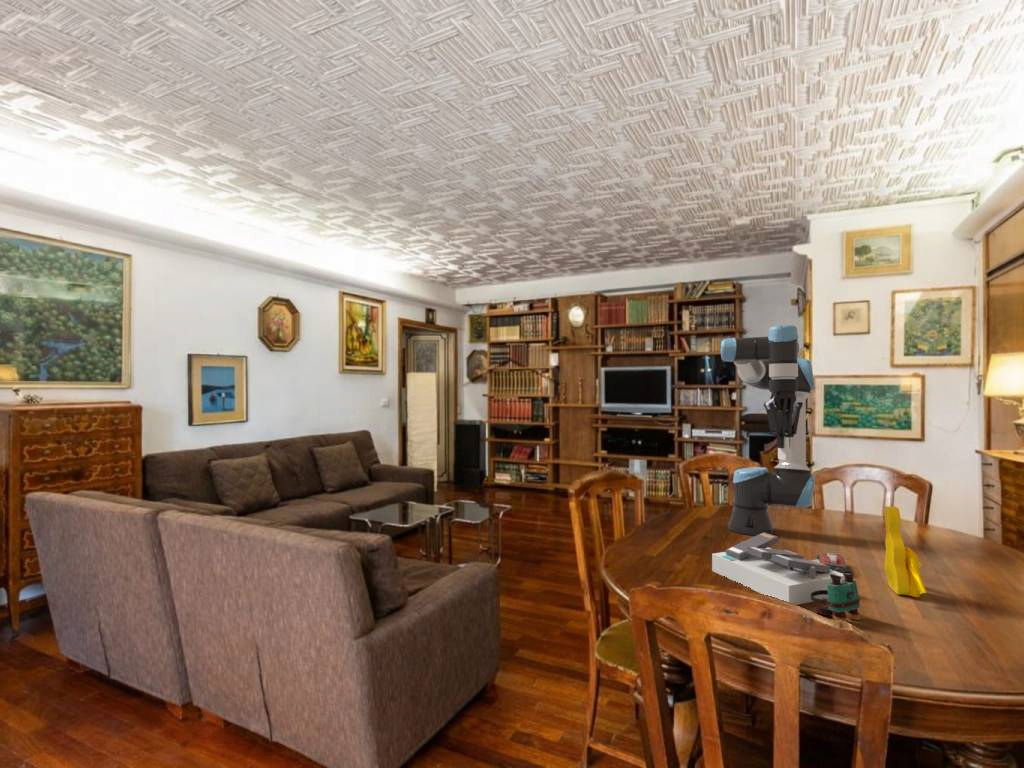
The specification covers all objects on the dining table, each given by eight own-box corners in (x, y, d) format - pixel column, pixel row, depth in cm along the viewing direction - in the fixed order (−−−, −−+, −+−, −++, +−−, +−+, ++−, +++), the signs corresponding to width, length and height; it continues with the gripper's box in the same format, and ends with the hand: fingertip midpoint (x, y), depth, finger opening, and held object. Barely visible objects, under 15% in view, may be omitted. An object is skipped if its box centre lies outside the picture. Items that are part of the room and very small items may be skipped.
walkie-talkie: (810, 559, 159) (812, 581, 142) (809, 545, 160) (812, 565, 142) (843, 564, 155) (850, 586, 138) (843, 549, 155) (850, 570, 138)
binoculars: (823, 563, 127) (864, 572, 118) (828, 607, 126) (870, 619, 117) (798, 568, 123) (839, 577, 114) (802, 613, 122) (844, 627, 113)
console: (764, 562, 156) (764, 536, 156) (846, 594, 132) (846, 564, 132) (712, 570, 149) (712, 544, 149) (788, 606, 125) (788, 574, 125)
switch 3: (812, 566, 138) (813, 560, 138) (829, 573, 133) (830, 566, 133) (771, 560, 133) (772, 553, 133) (787, 566, 128) (788, 559, 128)
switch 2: (787, 556, 145) (788, 549, 145) (802, 561, 140) (803, 555, 141) (746, 552, 140) (747, 546, 140) (761, 558, 135) (762, 551, 135)
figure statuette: (936, 608, 123) (935, 516, 124) (897, 603, 126) (896, 514, 126) (907, 582, 140) (906, 501, 140) (873, 578, 143) (873, 499, 143)
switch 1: (764, 537, 153) (763, 531, 153) (778, 542, 148) (777, 536, 148) (726, 555, 148) (725, 549, 147) (739, 560, 143) (738, 554, 143)
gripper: (788, 378, 156) (789, 456, 155) (755, 378, 151) (756, 458, 151) (810, 378, 149) (811, 459, 148) (777, 378, 144) (777, 462, 144)
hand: (783, 459), depth 150 cm, fingers closed
